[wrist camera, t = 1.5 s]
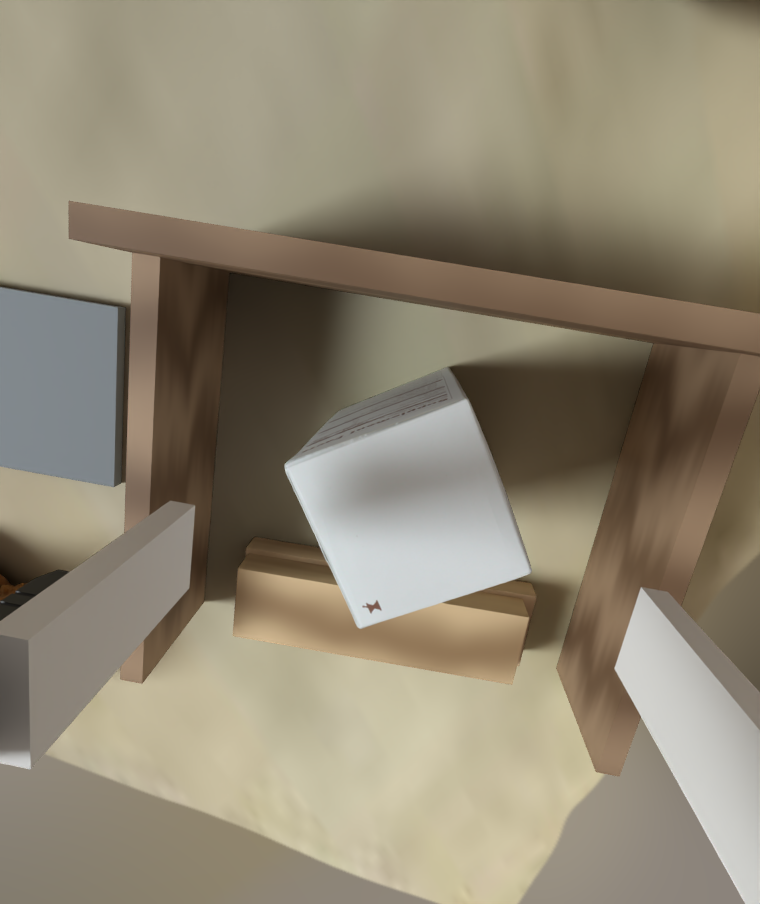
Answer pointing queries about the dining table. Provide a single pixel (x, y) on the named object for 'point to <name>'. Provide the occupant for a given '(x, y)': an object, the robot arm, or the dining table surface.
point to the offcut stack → (392, 641)
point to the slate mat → (61, 386)
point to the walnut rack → (463, 289)
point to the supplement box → (408, 501)
